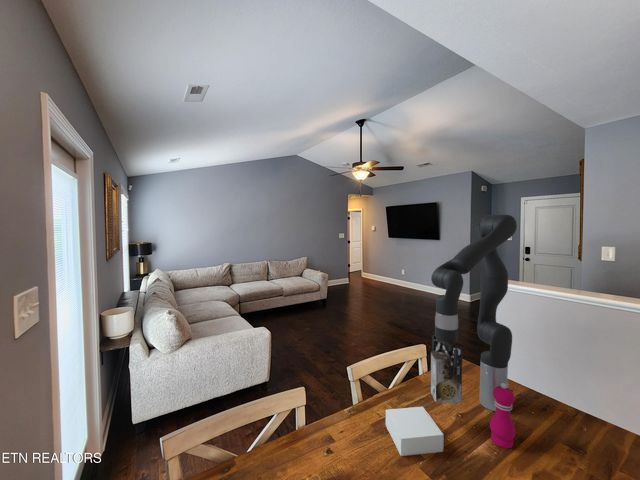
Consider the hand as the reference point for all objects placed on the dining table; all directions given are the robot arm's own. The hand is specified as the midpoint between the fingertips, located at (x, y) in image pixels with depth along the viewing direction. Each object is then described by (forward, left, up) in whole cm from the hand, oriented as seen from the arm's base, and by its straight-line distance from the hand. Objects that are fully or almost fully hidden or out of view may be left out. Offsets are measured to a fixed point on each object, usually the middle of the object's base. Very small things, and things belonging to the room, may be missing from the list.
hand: (446, 369), depth 104 cm
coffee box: (0, 0, -11) cm, 11 cm away
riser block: (+15, +4, -20) cm, 26 cm away
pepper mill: (-13, +12, -20) cm, 27 cm away
